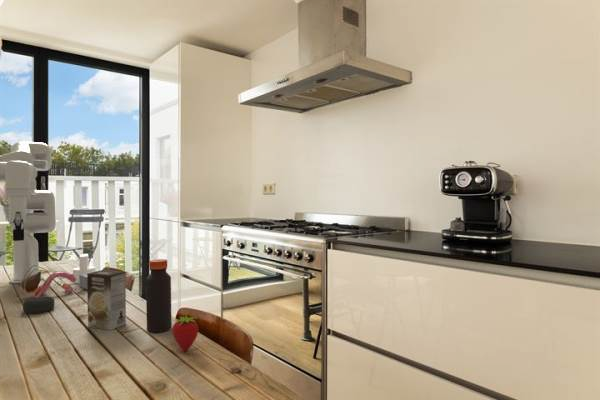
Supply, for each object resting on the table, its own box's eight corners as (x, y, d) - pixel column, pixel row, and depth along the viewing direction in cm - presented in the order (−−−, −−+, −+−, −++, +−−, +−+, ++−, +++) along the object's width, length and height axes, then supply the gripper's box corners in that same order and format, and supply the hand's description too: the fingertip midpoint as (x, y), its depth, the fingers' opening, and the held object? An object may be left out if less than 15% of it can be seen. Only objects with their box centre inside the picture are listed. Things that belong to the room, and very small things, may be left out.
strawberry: (190, 343, 99) (189, 305, 99) (203, 352, 94) (203, 312, 93) (168, 349, 95) (167, 310, 95) (180, 359, 90) (179, 317, 90)
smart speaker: (57, 310, 131) (57, 298, 131) (26, 316, 124) (26, 304, 124) (50, 305, 137) (50, 294, 137) (20, 311, 130) (20, 299, 130)
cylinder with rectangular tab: (74, 280, 178) (73, 254, 178) (96, 278, 182) (95, 253, 182) (72, 284, 170) (71, 257, 170) (94, 282, 174) (94, 255, 174)
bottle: (148, 335, 106) (147, 263, 106) (145, 327, 112) (144, 259, 112) (173, 330, 109) (172, 261, 109) (169, 323, 115) (168, 257, 115)
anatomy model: (84, 283, 155) (50, 255, 148) (51, 314, 148) (14, 286, 141) (79, 278, 164) (47, 252, 156) (48, 307, 157) (13, 281, 149)
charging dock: (79, 286, 166) (79, 273, 166) (84, 285, 167) (84, 273, 167) (91, 291, 155) (91, 278, 155) (96, 291, 157) (96, 277, 157)
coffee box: (86, 327, 113) (85, 273, 113) (103, 320, 119) (103, 269, 119) (110, 330, 110) (109, 275, 110) (127, 323, 116) (126, 270, 116)
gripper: (6, 194, 148) (7, 238, 148) (4, 193, 134) (5, 242, 134) (30, 194, 152) (30, 237, 152) (30, 193, 138) (31, 240, 138)
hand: (18, 239), depth 143 cm, fingers open, 9 cm apart
